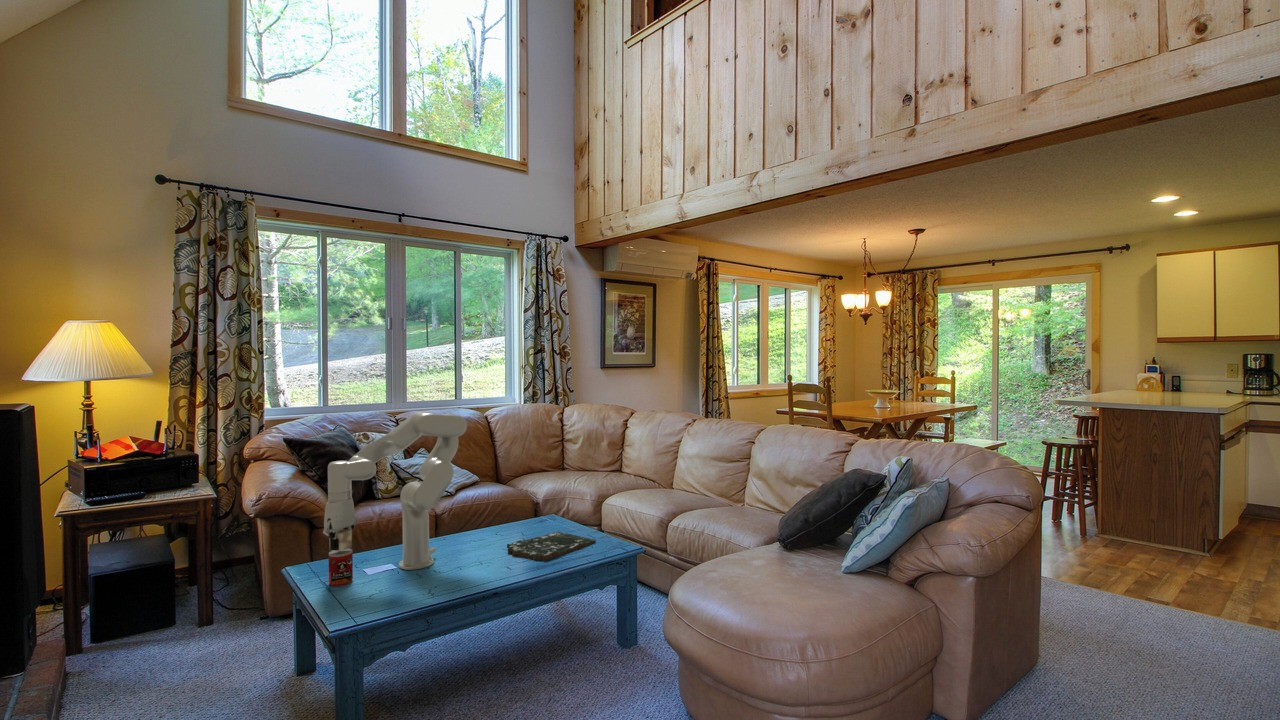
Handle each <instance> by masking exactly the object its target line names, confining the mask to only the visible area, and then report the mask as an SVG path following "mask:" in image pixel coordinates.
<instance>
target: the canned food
mask: <svg viewBox="0 0 1280 720" xmlns="http://www.w3.org/2000/svg"><path fill="white" fill-rule="evenodd" d="M353 553H354V552H353V549H352V548H348V549H345V550H343V551H335V550H330V551H329V552H328V583H329V586H332V587H342V586H346V585H349V584H351V583H352V582H353V579H354V576H353V575H354V572H353V571H354V570H353V569H354V564H353V563H354V562H353V560H354V556H353V555H354V554H353Z"/></svg>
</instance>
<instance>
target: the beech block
mask: <svg viewBox="0 0 1280 720" xmlns="http://www.w3.org/2000/svg"><path fill="white" fill-rule="evenodd" d="M334 533H335V532H334V531H333V534H334ZM352 537H353V530H345V529H340V530H339V531H338V536H337V539H339V550H335V551H343V550H345V549H348V548H349V549H351V548H352V547H353V542H352V541H353V539H352ZM328 540H329V546H330V539H329V538H328Z"/></svg>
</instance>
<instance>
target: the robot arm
mask: <svg viewBox="0 0 1280 720" xmlns="http://www.w3.org/2000/svg"><path fill="white" fill-rule="evenodd" d="M467 427H468V423H467V421H466V419H465V417H462V416H461V415H457V414H450V413H443V414H441V413H440V414H439V413H431V412H423V411H417V412H415V413H413V414H411V415H410V416H408V417H407V418H406V419H404V420H403V421H402V422H401V423H399V424H398V425H397V426H395V428H393V429H391V431H389V432H388V433H386V434H385V435H383V436H381V437H379V438H378V439H376V440H375V441H373V442H371V443H369V444H367V445H365V447H363V448H362V449H360V450H359V451H358V452H357V453H355V454H354V455H352V457H351V458H349V460H336V461H330V462H329V463H328V465H327V497H328V498H327V501H326V503H325V508H324V517H323V528H324V529H323V531H322V534H323V535H325V536H326V537H327V538H328V540H329V539H330V545H329V551H333V550H339V539H337V536H338V531H339V530H340V529H345V530H352V531H353V530H354V528H355V526H356V525H357V524H358V520H357V519H356V517H355V516H356V514H355V505H354V499H353V495H352V494H353V489H352V481H367V480H370V479H372V478H373V477H374V476H375V475H376V473H377V465H376V463H378V462H379V461H380V460H382V459H384V458H386V457H390V456H392V455H397V454H399V453H402V452H403V451H404V450H406V449H407V448H408V447H409V446H411V445H412V444H413V443H414V442H415V441H417V440H418V439H419V438H421V437H422V436H428V437H437V440H436V443H435V445H434V446H433V449H431V451H430V453H428V455H427V457H426V458H425V460H424V461H423V463H422V464H421V466H420V468H419V476H420V478H421V479H422V480H423V481H422V482H420V481H411V482H408V483H406V484H405V485H404V486H403V487H402V489H401V491H400V496H399V497H400V499H399V500H400V507H401V513H402V560H400V561H399V562H398V568H399V569H402V570H408V571H412V570H420V569H424V568H428V567H431V566H432V565H433V564H434V561H435V559H434V558H433V557H432V556H431V555H432V554H434V553H436V551H437V549H436V548H435V547H432V548H430V516H429V511H430V510H431V509H433V508H434V507H435V506H436V505H437V504H438V502H439V501H440V499H441V497H442V496H443V495H444V493H445V491H446V490H447V488H448V487H449V486H450V484H451V482H452V480H453V478H454V473H455V472H454V471H455V470H454V467H453V465H452V464H451V462H452V461H453V458H454V457H455V456H456V453H457V452H458V448H459V442H460V441H459V437H461V436H462V435H464V434H465V432H466V431H467V429H468V428H467ZM333 531H334V532H335V533H334V534H333Z"/></svg>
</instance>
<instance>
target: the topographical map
mask: <svg viewBox="0 0 1280 720" xmlns="http://www.w3.org/2000/svg"><path fill="white" fill-rule="evenodd" d="M595 543H597V542H596V539H593V538H589V537H584V536H580V535H575V534H571V533H566V532H561V531H555V532H552V533H547V534H544V535H539V536H536V537H532V538H528V539H521V540H517V541H515V542H511V543H508V544H506V548H507V555H512V557H513V558H522V559H523V558H524V559H528V560H533V561H539V562H544V563H545V562H547V561H551V560H553V559H556V558H558V557H561V556H565V555H566V554H569V553H571V552H572V553H573V552H575V551H577V550H580V549H582V548H584V547H587V546H591V545H592V544H595Z"/></svg>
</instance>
